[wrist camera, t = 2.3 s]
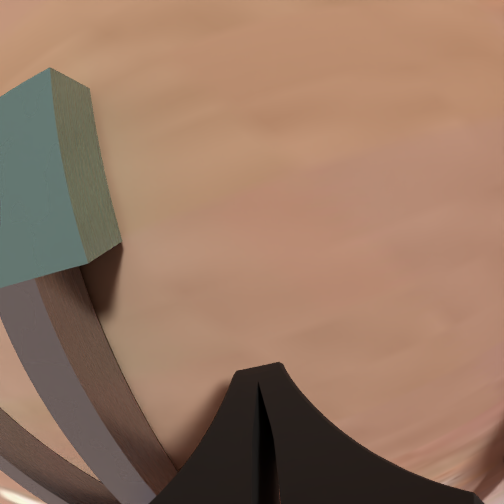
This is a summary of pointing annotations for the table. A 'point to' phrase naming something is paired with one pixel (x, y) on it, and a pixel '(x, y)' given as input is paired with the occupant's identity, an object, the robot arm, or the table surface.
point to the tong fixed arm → (46, 469)
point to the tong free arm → (67, 281)
